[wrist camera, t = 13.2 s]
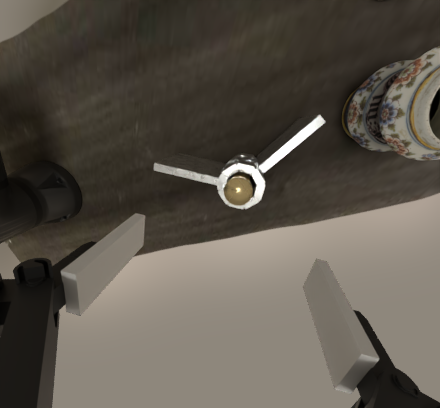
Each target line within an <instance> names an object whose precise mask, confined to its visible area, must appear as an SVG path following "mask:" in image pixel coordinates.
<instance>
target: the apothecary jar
mask: <svg viewBox="0 0 440 408" xmlns="http://www.w3.org/2000/svg"><path fill="white" fill-rule="evenodd" d="M342 125H343V128H344V130H345V132H346V133H347V134H348V135H349V136H350V137H351V138H353V139H354V140H355V141H356V142H357V143H358V144H359V145H361V146H362V147H364V148H366V149H369V150H372V151H379V152H387V151H395V152H396V153H398V154H400V155H402V156H404V157H407V158H410V159H415V160H437V159H440V46H438V47H436V48H434V49H432V50H430V51H428V52H426V53H425V54H423V55H421V56H420V57H418V58H417V59H416V60H404V61H399V62H396V63H392V64H390V65H387V66H385V67H383V68H381V69H380V70H378V71H377V72H375V73H374V74H372V75H371V76H370V77H369V78H368V79H367V80H366V81H365V82H364V83H363V84H362V85H361V86H360V87H358V88H357V89H356V90H355V91H354V92H353V93H352V94H351V95H350V96H349V98H348V99H347V101H346V103H345V105H344V108H343V112H342Z"/></svg>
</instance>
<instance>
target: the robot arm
mask: <svg viewBox="0 0 440 408" xmlns="http://www.w3.org/2000/svg"><path fill="white" fill-rule="evenodd" d="M81 204H82V197H81V192H80V189H79V187H78V185H77V183H76V181H75V180H74V178H73V177H72V176H71V175H70V174H69V173H68V172H67V171H66V170H65V169H63V168H62V167H60V166H59V165H57V164H55V163H52V162H47V161H40V162H34V163H30V164H27V165H25V166H24V167H22V168H20V169H18V170H17V171H15V172H13V173H11V174H10V175H8V176H7V174H6V170H5V167H4V163H3V159H2V156H1V152H0V243H2V242H4V241H7V240H9V239H11V238H13V237H15V236H17V235H19V234H21V233H23V232H25V231H27V230H29V229H31V228H34V227H36V226H38V225H43V224H50V223H56V222H62V221H65V220H67V219H69V218H71V217H73V216H75V215H76V214H77V213H78V212H79V210H80V208H81ZM144 226H145V215H141V214H137V213H135V214H134V215H133V216H131V217H130V218H129V219H127V220H126V221H125V222H124V223H122V224H121V225H120V226H118V227H117V228H116V229H114V230H113V231H112V232H111V233H109V234H108V235H107V236H105V237H104V238H103V239H102V240H100V241H99V242H98V243H96V242H92V241H91V242H89V243H86V244H84V245H82V246H80V247H79V248H78V249H76V250H75V251H73V252H72V253H71V254H69V256H66V257H65V258H64V259H62V260H61V261H59V262H58V263H57V264H55V265H54V266H52V264H51V261H50V260H48V259H46V258H34V259H30V260H27V261H24V262H22V263H20V264H19V265H18V266H16V267H15V268H14V270H13V273H14V277H15V279H2V277H1V274H0V408H52V400H53V388H54V376H55V364H56V351H57V338H58V327H59V310H60V309H61V308H62V307H63V306H64V305H65V304H66V311H67V312H69V313H72V314H76V315H79V316H81V314H82V313H83V312H84V311H85V310H86V309H87V308H88V307H89V305H90V304H91V303H92V302H93V301H94V300H95V299H96V298H97V297H98V295H99V294H100V293H101V292H102V291H103V290H104V289H105V288H106V286H107V285H108V284H109V283H110V282H111V281H112V280H113V278H114V277H115V276H116V275H117V274H118V273H119V272H120V271H121V270H122V269H123V267H124V266H125V265H126V264H127V263H128V262H129V261H130V260H131V258H132V257H133V256H134V255H135V254H136V253H137V252H138V251H139V249H140V248H141V247H142V246H143V243H144ZM303 289H304V292H305V295H306V299H307V302H308V305H309V308H310V311H311V315H312V318H313V321H314V324H315V327H316V330H317V334H318V337H319V340H320V343H321V347H322V350H323V353H324V356H325V359H326V363H327V366H328V369H329V372H330V375H331V379H332V382H333V385H334V388H335V390H339V391H342V392H346V393H349V394H351V393H352V392H353V391H354V389H355V388H356V387H357V388H358V391H359V393H360V396H361V397H360V398H359V400H358V401H357V402H356V403H355V404H354V405H353V406H352V407H351V408H440V403H439V402H438V401H436V400H434V399H432V398H430V397H429V396H427V395H425V394H423V393H422V392H420V390H419V389H418V387H417V386H416V384H415V383H414V382H413V381H412V380H411V379H410V378H409V377H408V376H407V375H406V374H405V373H403V372H402V371H400V370H399V369H396V368H395V366H394V365H393V363H392V361H391V359H390V358H389V356H388V354H387V353H386V351H385V349H384V348H383V346H382V344H381V342H380V341H379V339H377V336H376V334H375V332H374V331H373V329H372V327H371V326H370V324H369V322H368V320H367V319H366V318H365V317H364V316H363V315H362V314H361V313H360V312H359V311H355V310H353V309H352V307H351V305H350V303H349V301H348V300H347V298H346V296H345V294H344V292H343V290H342V288H341V287H340V285H339V283H338V281H337V279H336V277H335V276H334V274H333V272H332V270H331V268H330V266H329V265H328V263H327V261H323V260H319V259H316V260H315V262H314V265H313V267H312V269H311V271H310V273H309V275H308V277H307V279H306V281H305V283H304V286H303Z"/></svg>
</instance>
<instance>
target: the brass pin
mask: <svg viewBox="0 0 440 408" xmlns="http://www.w3.org/2000/svg"><path fill="white" fill-rule="evenodd" d="M252 194H253V188H252V185H251V183H250V174H247V173H243V172H239V171H238V172H236V173H235V174H234V175H233V178H231V179H230V180H229V181H228V182H227V183H226V185H225V188H224V196H225V198H226V200H227V201H228V202H229V203H231V204H233V205H236V206H241V205H244V204H246V203H248V202H249V201H250V199H251V197H252Z"/></svg>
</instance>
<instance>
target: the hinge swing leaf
mask: <svg viewBox="0 0 440 408" xmlns="http://www.w3.org/2000/svg"><path fill="white" fill-rule="evenodd" d="M324 123H325V121H324V119H323V118H322V117H321V115H315V116H307V117H300V118H299V119H298V120H297V121H296V122H295V123H294V124H292V125H291V126H290V127H289V128H288V129H287V130H286V131H285V132H283V133H282V134H281V135H280V136H279V137H278V138H277V139H275V140H274V141H273V142H272V143H271V144H270V145H269V146H267V147H266V148H265V149H264V150H263V151H262V152H261V153H259V154H258V155H257V157H258V159H256V160H255V159H254V158H252V159H251V157H247V156H237V158H236V157H235V158H234V159H233V160H232V161H231V162H229V163H228V164H227V165H226V166H228V165H229V164H231V163H232V162H234V161H235V160H237V159H238V161H239V159H242V160H247V161H251V162H255V164H257V165H258V167H259V169H260V170H261V172H262V174H263V172H264V173H265V172H266V171H267V170H268V169H269V168H271V167H272V166H273V165H274V164H276V163H277V162H278V161H279V160H280V159H282V158H283V157H284V156H285V155H286V154H288V153H289V152H290V151H291V150H292V149H294V148H295V147H296V146H297V145H299V144H300V143H301V142H302V141H303V140H305V139H306V138H307V137H308V136H309V135H311V134H312V133H313V132H314V131H315V130H317V129H318V128H319V127H320V126H321V125H323V124H324ZM226 166H225V167H226ZM263 175H264V174H263ZM230 179H231V176H230V177H229V180H230ZM229 180H228V181H229ZM255 183H256V182H255V181H254V182H253V183H252V184H251V185H252V188H253V189H254V187H255Z"/></svg>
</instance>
